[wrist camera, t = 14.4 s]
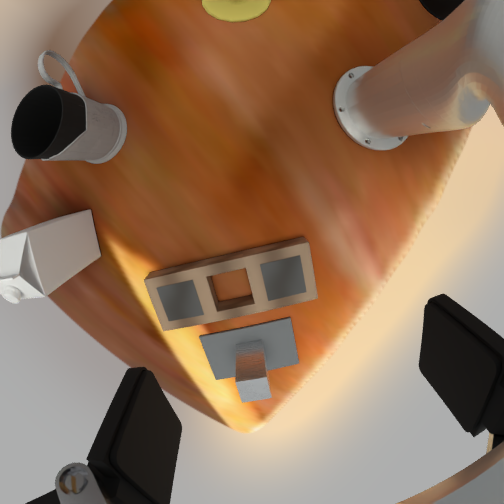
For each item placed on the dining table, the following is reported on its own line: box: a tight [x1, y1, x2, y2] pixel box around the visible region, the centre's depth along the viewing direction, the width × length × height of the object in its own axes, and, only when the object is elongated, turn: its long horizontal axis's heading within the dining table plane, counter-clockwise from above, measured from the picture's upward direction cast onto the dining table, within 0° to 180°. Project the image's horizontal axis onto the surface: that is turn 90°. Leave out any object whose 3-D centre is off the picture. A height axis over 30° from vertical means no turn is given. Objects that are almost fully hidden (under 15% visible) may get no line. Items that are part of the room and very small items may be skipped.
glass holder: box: [11, 50, 127, 164], centre depth 25 cm, size 9×14×15 cm, turn 12°
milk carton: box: [0, 209, 101, 303], centre depth 28 cm, size 7×7×19 cm
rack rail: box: [144, 237, 318, 331], centre depth 38 cm, size 22×8×3 cm, turn 103°
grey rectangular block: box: [236, 339, 271, 402], centre depth 38 cm, size 4×4×9 cm
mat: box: [199, 317, 299, 380], centre depth 43 cm, size 14×9×1 cm, turn 103°
